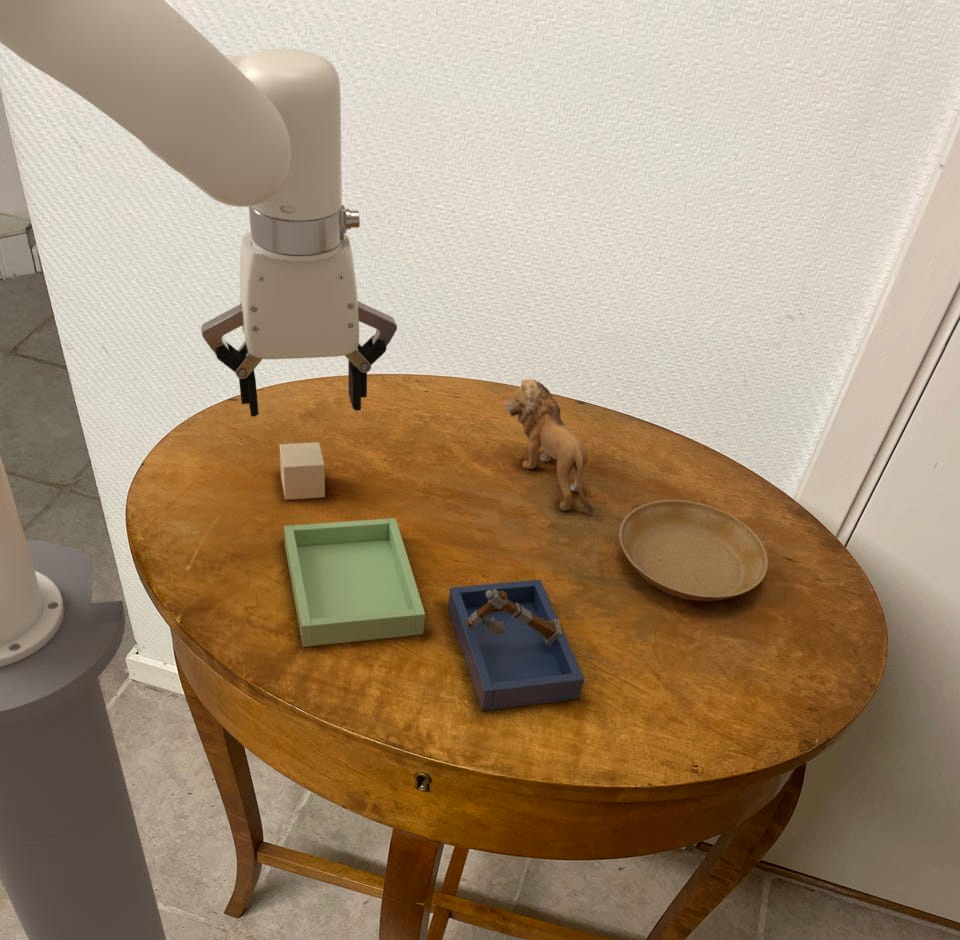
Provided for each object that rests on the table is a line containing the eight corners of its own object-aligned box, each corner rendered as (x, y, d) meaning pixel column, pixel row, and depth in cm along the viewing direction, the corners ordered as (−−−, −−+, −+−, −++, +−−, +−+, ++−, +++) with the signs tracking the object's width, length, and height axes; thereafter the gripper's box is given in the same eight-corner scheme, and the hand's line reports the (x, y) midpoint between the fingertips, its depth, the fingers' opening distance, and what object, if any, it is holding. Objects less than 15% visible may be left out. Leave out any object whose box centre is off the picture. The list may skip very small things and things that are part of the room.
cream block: (285, 500, 95) (283, 467, 92) (280, 476, 98) (279, 444, 95) (325, 497, 96) (324, 464, 93) (319, 474, 99) (319, 442, 96)
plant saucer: (790, 594, 93) (799, 574, 91) (669, 632, 87) (676, 612, 86) (701, 507, 102) (708, 488, 100) (586, 537, 96) (591, 516, 94)
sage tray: (302, 647, 81) (301, 626, 79) (285, 546, 90) (284, 525, 88) (423, 634, 84) (425, 614, 82) (394, 537, 93) (395, 517, 91)
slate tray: (481, 711, 78) (485, 691, 76) (447, 607, 87) (449, 587, 85) (579, 699, 80) (584, 679, 79) (536, 599, 89) (540, 579, 87)
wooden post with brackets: (457, 611, 81) (491, 579, 79) (525, 648, 85) (560, 617, 83) (459, 626, 80) (494, 593, 77) (528, 662, 84) (563, 632, 82)
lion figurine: (491, 450, 105) (501, 378, 99) (529, 439, 108) (541, 367, 102) (574, 523, 98) (590, 450, 91) (612, 509, 100) (631, 436, 94)
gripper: (390, 206, 83) (386, 380, 95) (186, 208, 79) (209, 389, 91) (407, 243, 78) (401, 422, 90) (190, 247, 74) (214, 433, 86)
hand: (304, 405), depth 91 cm, fingers open, 9 cm apart
